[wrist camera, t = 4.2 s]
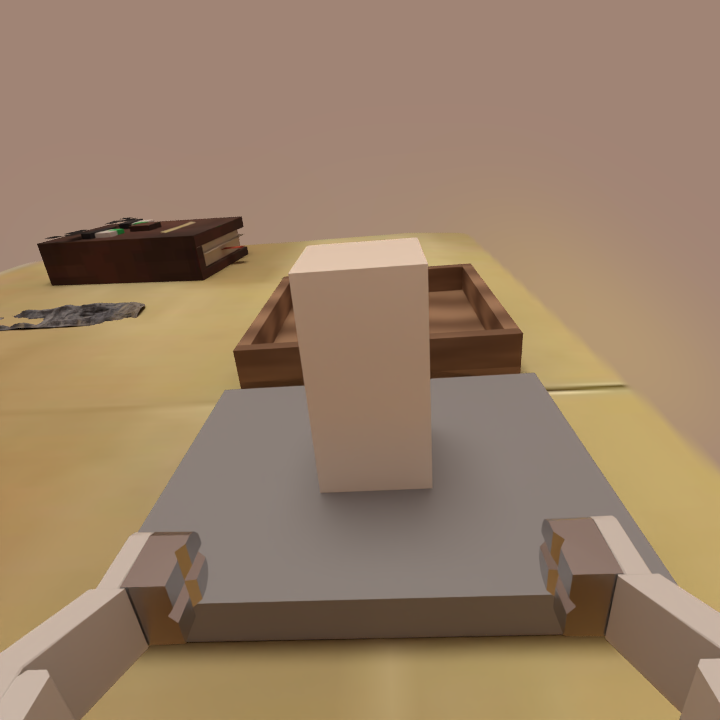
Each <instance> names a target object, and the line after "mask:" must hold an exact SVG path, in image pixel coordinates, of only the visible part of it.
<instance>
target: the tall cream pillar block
mask: <svg viewBox="0 0 720 720" xmlns="http://www.w3.org/2000/svg"><path fill="white" fill-rule="evenodd" d="M288 275H289V282H290V289H291V296H292V303H293V310H294V317H295V323H296V330H297V337H298V344H299V351H300V358H301V365H302V371H303V378H304V385H305V392H306V399H307V406H308V413H309V419H310V426H311V433H312V440H313V447H314V454H315V461H316V467H317V474H318V481H319V488H320V493H328V492H353V491H378V490H402V489H427V488H432V440H431V392H430V344H429V296H428V263H427V261H426V258H425V256H424V253H423V251H422V248H421V246H420V243H419V241H418V238H404V239H391V240H378V241H364V242H351V243H337V244H324V245H311V246H307V247H306V248H305V250H304V251H303V253H302V254H301V256H300V257H299V259H298V260H297V261H296V263H295V264H294V266H293V267H292V269H291V270H290V272H289V273H288Z"/></svg>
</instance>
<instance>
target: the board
mask: <svg viewBox="0 0 720 720" xmlns="http://www.w3.org/2000/svg"><path fill="white" fill-rule="evenodd" d="M430 392H431V440H432V488H427V489H402V490H378V491H353V492H328V493H320V488H319V481H318V474H317V467H316V461H315V454H314V447H313V440H312V433H311V426H310V419H309V413H308V406H307V399H306V392H305V386H289V387H271V388H253V389H235V390H225V391H224V393H223V394H222V396H221V397H220V399H219V401H218V402H217V404H216V406H215V407H214V409H213V411H212V412H211V414H210V415H209V417H208V419H207V420H206V422H205V424H204V425H203V427H202V428H201V430H200V432H199V433H198V435H197V437H196V438H195V440H194V442H193V443H192V445H191V446H190V448H189V450H188V451H187V453H186V455H185V456H184V458H183V459H182V461H181V463H180V464H179V466H178V468H177V469H176V471H175V473H174V474H173V476H172V477H171V479H170V481H169V482H168V484H167V486H166V487H165V489H164V490H163V492H162V494H161V495H160V497H159V499H158V500H157V502H156V503H155V505H154V507H153V508H152V510H151V512H150V513H149V515H148V517H147V518H146V520H145V521H144V523H143V525H142V526H141V528H140V530H139V531H138V533H140V532H197V533H198V534H199V537H200V540H201V543H202V544H201V546H200V548H199V552H200V553H201V554H202V555H204V556H205V557H206V560H207V564H208V581H207V588H206V591H205V593H204V596H203V599H202V600H201V601H200V602H199V603H197V604H196V605H195V606H194V607H193V609H194V612H195V615H196V617H195V620H194V622H193V625H192V628H191V630H190V633H189V635H188V638H187V640H186V642H209V641H259V640H308V639H358V638H407V637H457V636H506V635H556V634H563V632H562V630H561V627H560V625H559V622H558V619H557V617H556V614H555V612H554V609H553V604H554V596H553V595H552V594H551V593H549V592H548V591H547V590H546V588H545V585H544V582H543V579H542V575H541V571H540V563H539V549H540V546H541V545H542V544H543V543H544V542H545V540H544V537H543V535H542V532H541V529H542V523H543V521H544V519H551V518H573V517H592V516H614V517H615V518H616V519H617V520H618V522H619V523H620V525H621V526H622V528H623V529H624V531H625V533H626V534H627V536H628V537H629V539H630V540H631V542H632V543H633V545H634V547H635V548H636V550H637V551H638V553H639V554H640V556H641V557H642V559H643V561H644V562H645V564H646V565H647V567H648V568H649V570H650V571H651V573H652V574H660V575H662V576H664V577H665V578H667V579H668V580H670V581H671V582H673V583H674V584H676V585H677V583H676V582H675V580H674V579H673V577H672V576H671V574H670V573H669V572H668V570H667V569H666V567H665V566H664V564H663V563H662V561H661V560H660V558H659V557H658V555H657V554H656V552H655V551H654V549H653V548H652V546H651V545H650V543H649V542H648V540H647V539H646V537H645V536H644V534H643V533H642V531H641V530H640V528H639V527H638V525H637V524H636V523H635V521H634V520H633V518H632V517H631V515H630V514H629V512H628V511H627V509H626V508H625V506H624V505H623V503H622V502H621V500H620V499H619V497H618V496H617V494H616V493H615V491H614V490H613V488H612V487H611V485H610V484H609V482H608V481H607V479H606V478H605V477H604V475H603V474H602V472H601V471H600V469H599V468H598V466H597V465H596V463H595V462H594V460H593V459H592V457H591V456H590V454H589V453H588V451H587V450H586V448H585V447H584V445H583V444H582V442H581V441H580V439H579V438H578V436H577V435H576V433H575V432H574V430H573V429H572V428H571V426H570V425H569V423H568V422H567V420H566V419H565V417H564V416H563V414H562V413H561V411H560V410H559V408H558V407H557V405H556V404H555V402H554V401H553V399H552V398H551V396H550V395H549V393H548V392H547V390H546V389H545V387H544V386H543V384H542V383H541V382H540V380H539V379H538V377H537V376H536V374H535V373H523V374H505V375H487V376H469V377H451V378H433V379H430ZM677 586H678V585H677Z"/></svg>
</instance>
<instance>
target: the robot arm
mask: <svg viewBox="0 0 720 720" xmlns="http://www.w3.org/2000/svg"><path fill="white" fill-rule="evenodd" d="M541 532H542V535H543V537H544V540H545V542H544V543H543V544H542V545H541V546H540V549H539V563H540V571H541V575H542V579H543V582H544V585H545V588H546V590H547V591H548V592H549V593H551V594H552V595H553V596H554V604H553V609H554V612H555V614H556V617H557V619H558V622H559V625H560V627H561V630H562V632H563V635H564V636H605V639H606V640H607V641H608V642H609V643H610V644H611V645H612V646H613V647H614V648H615V649H616V650H617V651H618V652H619V653H620V654H621V655H622V656H623V657H624V658H626V659H627V660H628V661H629V662H630V663H631V664H632V665H633V666H634V667H635V668H636V669H637V670H638V671H639V672H640V673H641V674H642V675H643V676H644V677H645V678H646V679H647V680H648V681H649V682H650V683H651V684H652V685H653V686H654V687H655V688H656V689H657V690H658V691H659V692H660V693H661V694H662V695H663V696H664V697H665V698H666V699H667V700H668V701H669V702H670V703H671V704H672V705H674V706H675V707H676V708H677V709H678V710H679V711H680V712H681V713H682V714H681V716H680V719H679V720H720V613H719V612H717V611H716V610H714V609H713V608H711V607H710V606H708V605H707V604H705V603H704V602H702V601H700V600H699V599H697V598H696V597H694V596H693V595H691V594H690V593H688V592H687V591H685V590H684V589H682V588H680V587H679V586H677V585H676V584H674V583H673V582H671V581H670V580H668V579H667V578H665V577H664V576H662V575H660V574H652V573H651V571H650V570H649V568H648V567H647V565H646V564H645V562H644V561H643V559H642V557H641V556H640V554H639V553H638V551H637V550H636V548H635V547H634V545H633V543H632V542H631V540H630V539H629V537H628V536H627V534H626V533H625V531H624V529H623V528H622V526H621V525H620V523H619V522H618V520H617V519H616V518H615V517H614V516H592V517H573V518H551V519H544V521H543V523H542V529H541ZM201 544H202V543H201V540H200V537H199V534H198V533H197V532H140V533H134V534H132V535H131V536H129V538H128V539H127V541H126V542H125V544H124V545H123V547H122V549H121V550H120V552H119V553H118V555H117V556H116V558H115V560H114V561H113V563H112V564H111V566H110V567H109V569H108V571H107V572H106V574H105V575H104V577H103V578H102V580H101V582H100V583H99V585H98V586H97V588H96V589H90V590H88V591H87V592H85V593H84V594H82V595H81V596H80V597H78V598H77V599H75V600H74V601H73V602H71V603H70V604H68V605H67V606H66V607H64V608H63V609H61V610H60V611H59V612H57V613H56V614H54V615H53V616H52V617H50V618H49V619H47V620H46V621H45V622H43V623H42V624H40V625H39V626H38V627H36V628H35V629H33V630H32V631H31V632H29V633H28V634H26V635H25V636H24V637H22V638H21V639H19V640H18V641H17V642H15V643H14V644H12V645H11V646H10V647H8V648H7V649H5V650H4V651H3V652H1V653H0V720H80V719H81V718H82V717H83V716H84V715H85V714H86V713H87V712H88V711H89V710H90V709H91V708H92V707H93V706H94V705H95V704H96V703H97V702H98V700H99V699H100V698H101V697H102V696H103V695H104V694H105V693H106V692H107V691H108V690H109V689H110V688H111V687H112V686H113V685H114V684H115V683H116V681H117V680H118V679H119V678H120V677H121V676H122V675H123V674H124V673H125V672H126V671H127V670H128V669H129V668H130V667H131V666H132V665H133V664H134V662H135V661H136V660H137V659H138V658H139V657H140V656H141V655H142V654H143V653H144V652H145V651H146V650H147V649H148V645H164V644H184V643H186V640H187V638H188V635H189V633H190V630H191V628H192V625H193V622H194V620H195V617H196V615H195V612H194V609H193V607H194V606H195V605H196V604H197V603H199V602H200V601H201V600H202V599H203V596H204V593H205V591H206V588H207V581H208V564H207V560H206V557H205V556H204V555H202V554H201V553H200V552H199V548H200V546H201Z"/></svg>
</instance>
